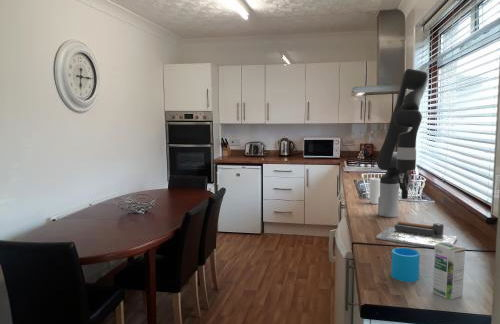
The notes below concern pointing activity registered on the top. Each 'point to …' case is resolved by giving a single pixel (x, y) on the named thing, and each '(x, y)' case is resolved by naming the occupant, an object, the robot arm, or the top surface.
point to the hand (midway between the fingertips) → (404, 198)
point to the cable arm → (420, 228)
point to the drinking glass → (374, 190)
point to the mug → (405, 264)
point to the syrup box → (448, 270)
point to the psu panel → (414, 237)
